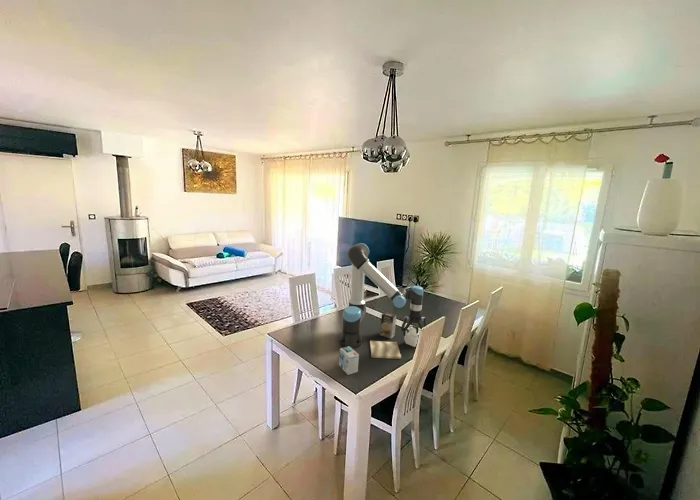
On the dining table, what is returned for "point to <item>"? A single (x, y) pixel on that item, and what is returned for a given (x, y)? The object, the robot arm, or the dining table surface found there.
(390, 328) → the coffee box
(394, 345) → the birch board
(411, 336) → the medicine bottle
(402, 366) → the dining table surface
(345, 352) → the light bulb box
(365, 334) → the dining table surface
